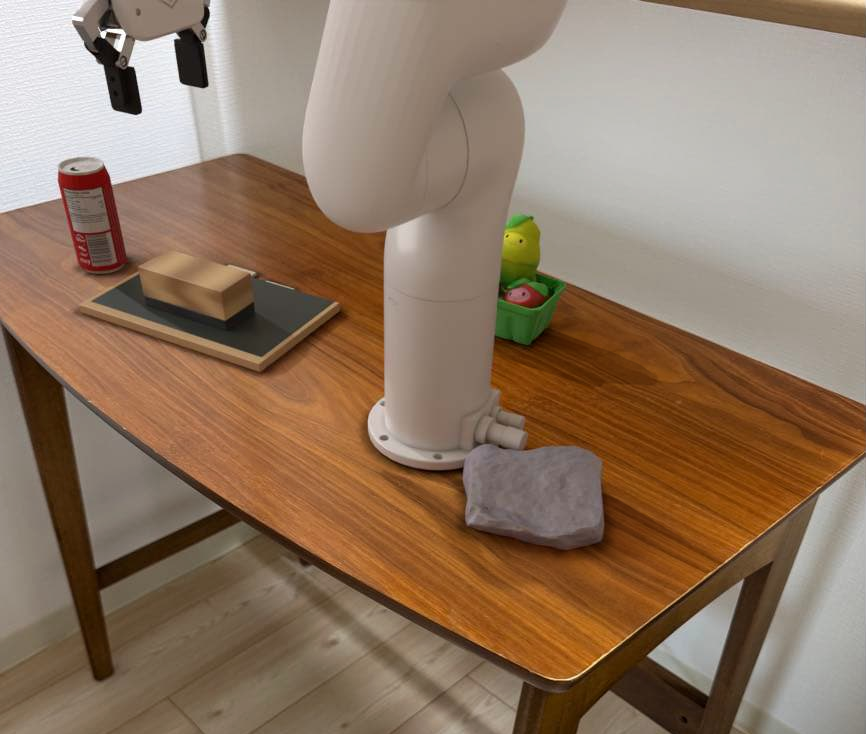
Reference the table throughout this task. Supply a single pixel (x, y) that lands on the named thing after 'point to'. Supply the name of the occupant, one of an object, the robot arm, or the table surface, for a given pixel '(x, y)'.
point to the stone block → (536, 494)
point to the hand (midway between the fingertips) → (162, 98)
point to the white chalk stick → (280, 285)
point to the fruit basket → (524, 284)
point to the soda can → (92, 214)
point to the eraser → (197, 289)
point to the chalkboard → (242, 344)
